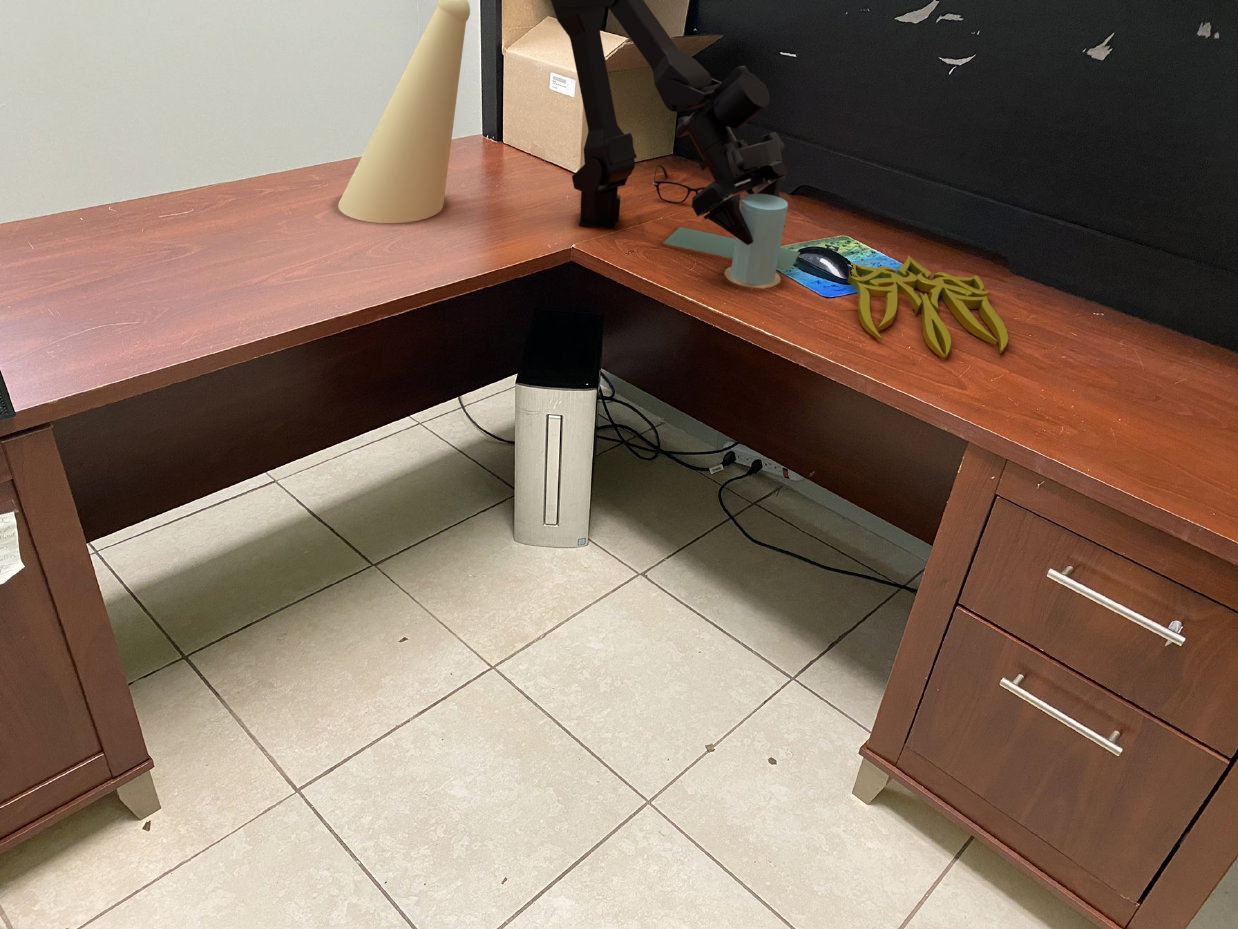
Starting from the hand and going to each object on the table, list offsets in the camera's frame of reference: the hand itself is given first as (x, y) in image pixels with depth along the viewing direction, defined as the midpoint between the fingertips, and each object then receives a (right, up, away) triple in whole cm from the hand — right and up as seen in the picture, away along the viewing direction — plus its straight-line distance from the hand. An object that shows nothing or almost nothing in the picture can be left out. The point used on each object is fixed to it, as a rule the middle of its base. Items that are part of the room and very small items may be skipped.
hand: (766, 236), depth 133 cm
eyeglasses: (-8, +18, +38) cm, 42 cm away
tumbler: (-1, -5, +5) cm, 7 cm away
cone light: (-60, +11, +21) cm, 65 cm away
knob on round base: (-1, -6, +5) cm, 8 cm away
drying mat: (-4, +1, +14) cm, 15 cm away
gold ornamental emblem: (+24, -11, 0) cm, 27 cm away
